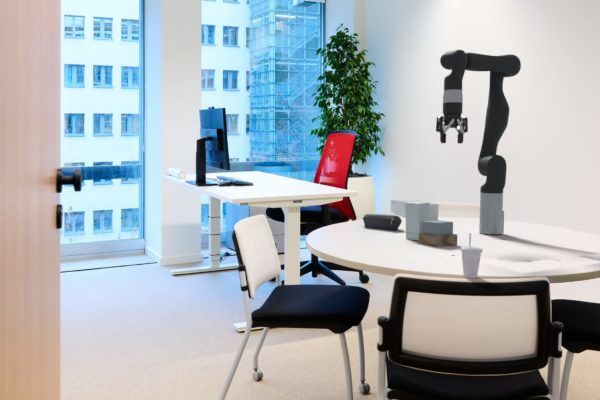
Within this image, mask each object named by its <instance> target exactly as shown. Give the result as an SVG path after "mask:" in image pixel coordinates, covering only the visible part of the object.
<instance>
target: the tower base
mask: <svg viewBox="0 0 600 400" xmlns="http://www.w3.org/2000/svg"><path fill="white" fill-rule="evenodd" d="M418 244H419V245H422V246H423V245H424V246H430V247H434V248H441V247H443V248H444V247H455V246H458V234H457V233H453V234H447V235H432V234H424V233H419V241H418Z"/></svg>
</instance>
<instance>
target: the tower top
mask: <svg viewBox="0 0 600 400" xmlns="http://www.w3.org/2000/svg"><path fill="white" fill-rule="evenodd" d="M422 233H424V234H432V235H447V234H454V221H449V220H439V219H438V220H432V221H422Z"/></svg>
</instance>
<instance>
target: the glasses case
mask: <svg viewBox="0 0 600 400" xmlns="http://www.w3.org/2000/svg"><path fill="white" fill-rule="evenodd" d="M362 221H363V224H364V227H365V229H367V228H368V229H375V228H377V229H378V230H387V231H398V229H399V227H400V225H401V224H402V223H403V222H402V218H401V216H400V215H397V214H395V215H394V214H386V213H385V214H381V213H366V214H365V215H364V216H363V217H362Z"/></svg>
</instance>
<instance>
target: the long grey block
mask: <svg viewBox="0 0 600 400" xmlns="http://www.w3.org/2000/svg"><path fill="white" fill-rule="evenodd" d="M411 202H424V203H429V217H430V221H432V220H439V204H438V203H435V202H427V201H422V200H417V199H416V200H415V199H408V198H407V199H390V213H391V214H393V215H394V214H395V215H396V216H399V217H403V218H405V219H406V216H405V203H411Z"/></svg>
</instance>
